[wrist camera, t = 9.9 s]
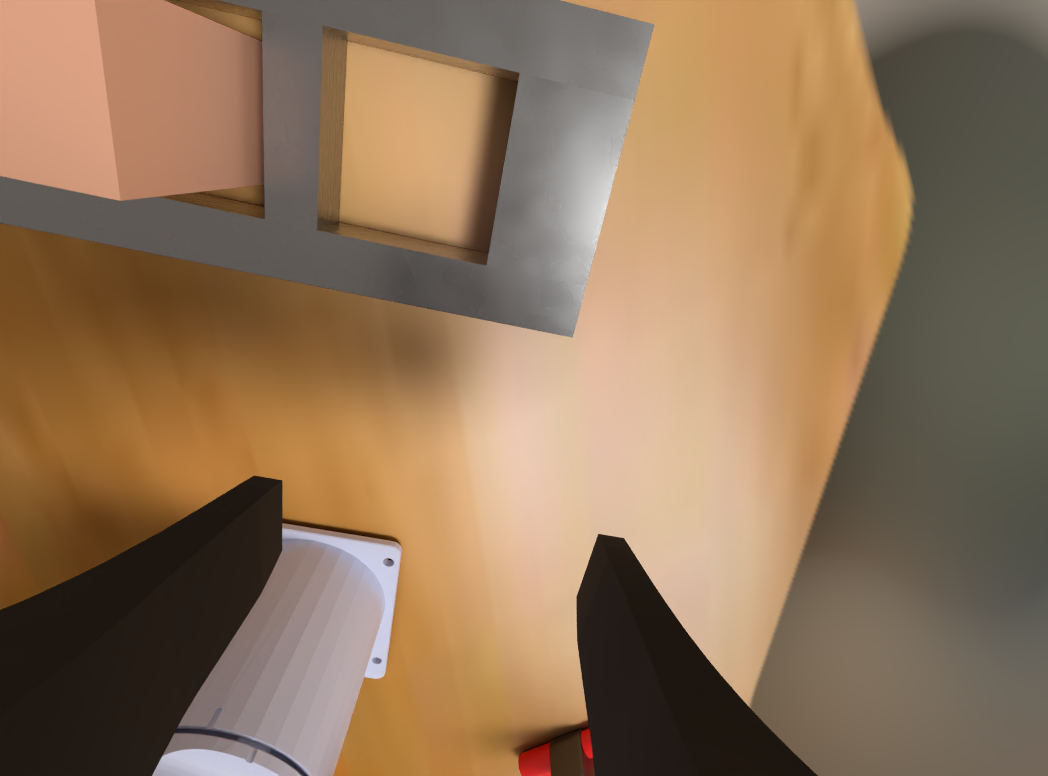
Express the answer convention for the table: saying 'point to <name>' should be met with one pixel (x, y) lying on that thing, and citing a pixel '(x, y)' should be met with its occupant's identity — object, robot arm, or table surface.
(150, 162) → the peg
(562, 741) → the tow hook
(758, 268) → the table surface
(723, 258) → the table surface
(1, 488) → the table surface
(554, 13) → the grey slotted board
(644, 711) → the robot arm
